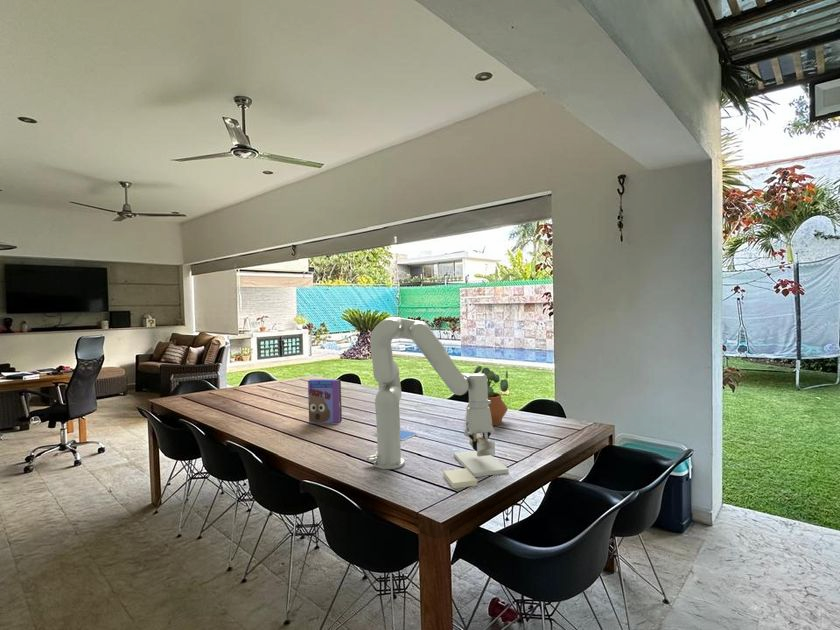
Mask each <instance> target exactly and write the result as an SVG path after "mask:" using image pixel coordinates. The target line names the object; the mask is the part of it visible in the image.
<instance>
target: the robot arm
mask: <svg viewBox="0 0 840 630" xmlns="http://www.w3.org/2000/svg"><path fill="white" fill-rule="evenodd" d="M395 338H399V339H400V338H401V339H407V340H412V343H414V345H415V346H416V347H417V348H418V350H419V351H420V352H421V353H422V355H423V356H424V357H425V359H426V360H427V362H429V365H430V366H431V367H432V368H433V369H434V371H435V372H436V373H437V375H438V377H440V379H441V380H442V382H443V383H444V384H445V385H446V387H447V388H448V389H449V391H450V392H451V393H452V394H453V395H456V396H463V395H465V394H467V392H468V404H469V407H468V408H467V407H466V408H467V409H466V413H465V414H466V415H465V429H464V432H463V435H464V436H466V437H468V438H469V437H470V438H471V439H472V446H471V447H472V449H473V451H477V441H476V436H477V433H478V434H482V435H481V436H482V437H483V438H485V439H486V440H487V441H489V440H488V439H489V438H490V436H491V435H493V434H494V433H496V430H495V429H494V426H492V418H491V412H490V408H489V407H488V405H489V404H491V401H490V400H488V391H487V382H488V379H487V376H486V375H485V374H483V373H481V372H478V373H474V372H473V373H465V372H461V371H460V370H459V368H458V367H457V366H456V365H455V363H454V362H453V360H452V359H451V356H450V354H449V352H448V350H447V349H446V347H445V346H444V344H443V343H442V342H441V341H440V340H439V339H438V337H437V336H436V335H435V333H434V332H433V331H432V330H431V327H430V325H429V324H428V323H427V322H425V321H423V320H422V321H421V320H417V319H415V320H414V319H410V318H403V317H397V316H390V317H387V318H384V319H383V320H382V321H380V322H379V323H377V324H376V325H375V326H374V328H373V329H372V332H371V334H370V341H369V342H370V350H371V351H370V352H371V363H372V372H373V378H374V380H375V381H376V383H377V384H378V391H377V393H376V395H375V399H374V406H375V416H376V433H377V436H376V443H377V444H376V445H377V447H376V448H377V450H376V451H375V454H373V455H366V456H365V462H370V463H373V466H374V467H375V468H377V469H380V470H394V469H398V468H401V467H403V466H404V465H405V464H406V463H405V462H406V461H405V459H404V458H402V457H401V456H402V455H401V454H402V453H401V452H402V451H401V450H402V449H401V448H402V447H401V440H400V430H401V419H400V418H401V417H400V416H401V415H400V414H401V413H400V401H401V398H402V386H401V385H402V384H401V378H400V370H399V366H398V364H397V363H396V361H395V360H394V356H393V347H392V341H393V339H395ZM469 433H471V434H469Z"/></svg>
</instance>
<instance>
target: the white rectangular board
mask: <svg viewBox="0 0 840 630" xmlns="http://www.w3.org/2000/svg"><path fill="white" fill-rule="evenodd" d="M453 457H454V458H455V459H456V460H457V461H458V462H459V463H460V464H461V465H462V466H463V468H466V469H467V470H468V471H469V472H470V473H471V474H472V475H473V476H474V477H475V478H479V477H484V476H492V475H494V476H495V475H503V474H508V473H509V468H508V467H507V466H505V465H504V464H503V463H502V462H501V461H499V460H498V459H497V458H496V457H494V455H488V456H479V457H478V456H477V451H475V450H466V451H457V452H453Z"/></svg>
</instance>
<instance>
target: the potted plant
mask: <svg viewBox="0 0 840 630" xmlns="http://www.w3.org/2000/svg"><path fill="white" fill-rule="evenodd" d="M501 372H503V373H504V371H501ZM473 373H483V374H485V375H486V376H487V391H488V400H490V401H491V404H489V405H488V407H489V408H490V412H491V418H492V426H493V427H495V426H494V425H496V426H499V425H501V424H502V422H503V417H504V416H505V415H506V413H507V412H508V410H509V408H508V406H507V405H506V403H505V402H504V401H503V400H502V395H501V394H500V393H498V392H495V391H494V388H493V387H494V386H495V385H496V384H498V383H499V382H500V384H499V385H500V391H501V392H503V393H506V392H507V391H508V389H509V382H508V378H509V375H508V370H506V371H505V378H506V379H501V378H500V376H499V374H500V372H499V373H497V374H496V373H495V372H494V371H492V370H490V368H488V367H484V368H483V367H482V366H481V365H478V366H477V367H476V368H475V369H474V371H473ZM492 381H493V382H494V384H492ZM491 384H492V385H491ZM468 407H469V403H468V404H467V405H466V410H467V408H468Z"/></svg>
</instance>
